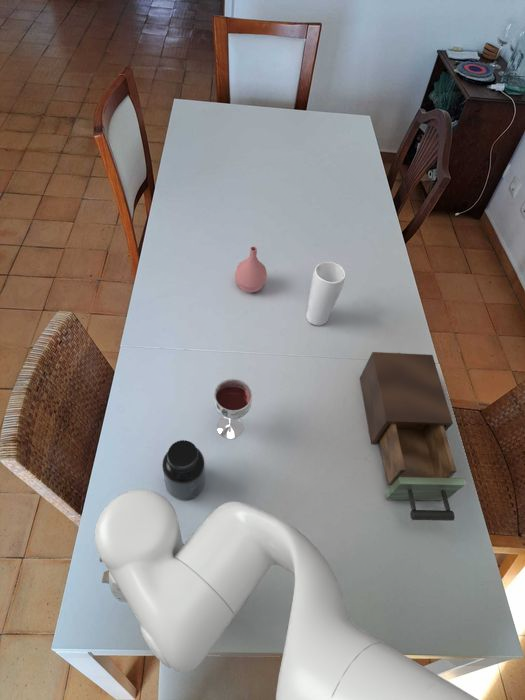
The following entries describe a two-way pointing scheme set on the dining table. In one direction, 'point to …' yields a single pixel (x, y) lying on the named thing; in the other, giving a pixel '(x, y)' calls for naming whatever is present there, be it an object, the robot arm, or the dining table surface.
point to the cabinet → (402, 392)
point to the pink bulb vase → (251, 273)
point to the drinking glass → (324, 291)
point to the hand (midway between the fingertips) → (163, 589)
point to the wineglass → (232, 406)
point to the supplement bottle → (184, 470)
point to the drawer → (419, 467)
